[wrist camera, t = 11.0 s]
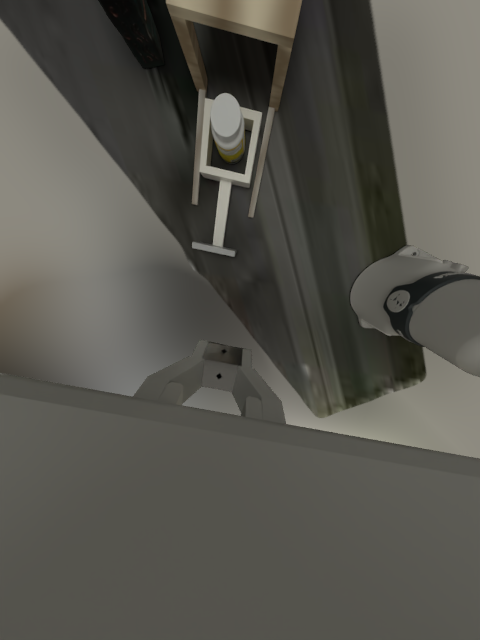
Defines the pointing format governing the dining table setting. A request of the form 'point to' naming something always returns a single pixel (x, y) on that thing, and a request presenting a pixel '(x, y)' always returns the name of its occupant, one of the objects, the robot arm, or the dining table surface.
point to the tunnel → (245, 19)
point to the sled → (225, 175)
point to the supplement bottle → (228, 128)
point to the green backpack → (136, 29)
